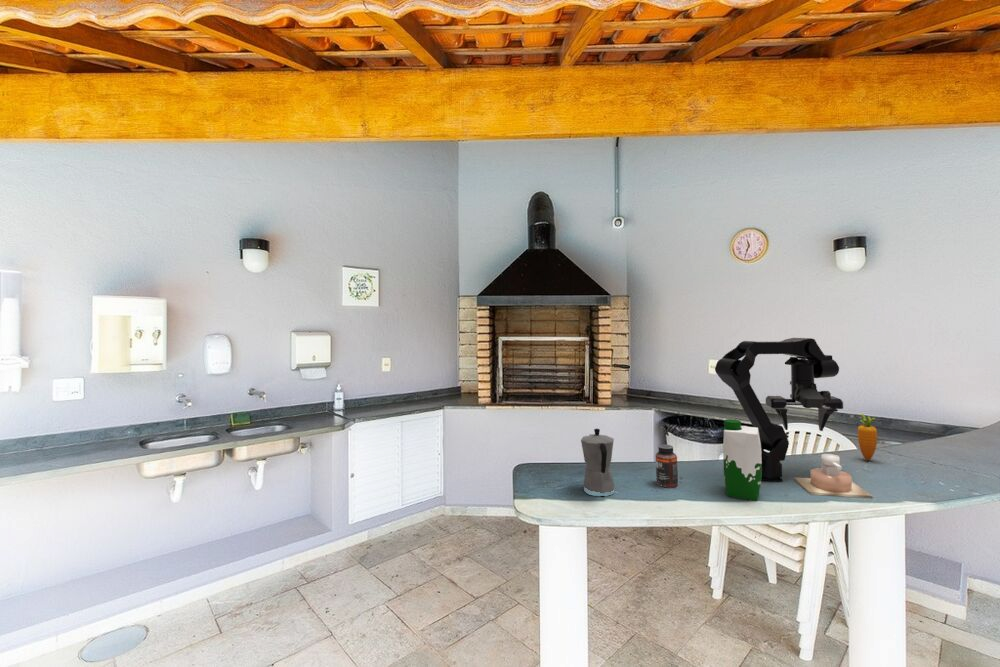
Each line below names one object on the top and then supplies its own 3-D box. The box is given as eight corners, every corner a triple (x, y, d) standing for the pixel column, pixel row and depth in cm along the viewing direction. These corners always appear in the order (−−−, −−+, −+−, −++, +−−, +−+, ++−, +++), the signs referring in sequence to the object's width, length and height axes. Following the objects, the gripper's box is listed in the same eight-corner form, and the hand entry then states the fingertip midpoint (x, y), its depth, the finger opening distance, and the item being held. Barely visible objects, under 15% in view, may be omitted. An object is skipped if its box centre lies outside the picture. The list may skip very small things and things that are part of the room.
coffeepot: (578, 482, 131) (576, 423, 130) (609, 481, 130) (607, 422, 130) (588, 504, 115) (586, 437, 115) (623, 503, 115) (621, 436, 114)
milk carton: (725, 485, 124) (724, 416, 123) (762, 491, 119) (761, 419, 118) (722, 496, 116) (721, 423, 116) (762, 503, 112) (760, 427, 111)
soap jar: (819, 491, 116) (819, 469, 116) (805, 479, 125) (804, 459, 125) (858, 493, 114) (858, 471, 114) (841, 480, 122) (841, 460, 122)
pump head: (830, 479, 115) (830, 461, 115) (818, 470, 122) (818, 453, 121) (848, 480, 114) (848, 462, 114) (835, 470, 121) (835, 454, 120)
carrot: (881, 463, 136) (881, 416, 136) (863, 463, 137) (863, 416, 137) (871, 458, 141) (871, 413, 140) (854, 458, 142) (853, 413, 141)
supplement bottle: (678, 481, 128) (677, 444, 128) (677, 489, 123) (676, 450, 122) (657, 479, 131) (656, 442, 130) (655, 486, 125) (654, 448, 125)
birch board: (810, 494, 116) (810, 492, 116) (794, 479, 126) (793, 477, 126) (872, 498, 112) (872, 495, 112) (850, 482, 123) (850, 480, 123)
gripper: (777, 383, 125) (778, 436, 126) (853, 383, 120) (853, 438, 121) (764, 377, 136) (765, 426, 136) (833, 377, 131) (834, 428, 132)
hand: (803, 430), depth 131 cm, fingers open, 9 cm apart
